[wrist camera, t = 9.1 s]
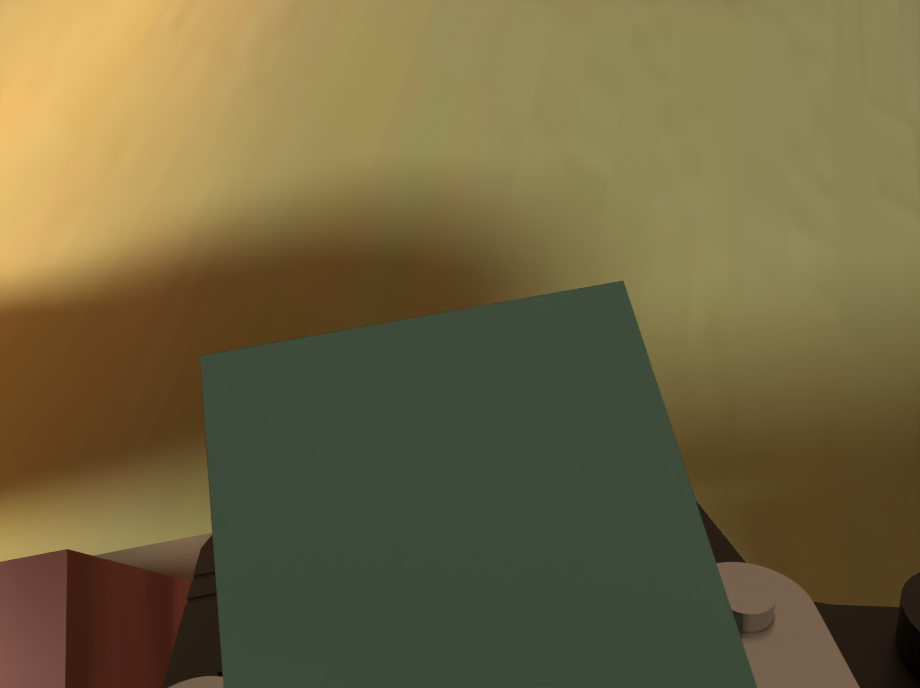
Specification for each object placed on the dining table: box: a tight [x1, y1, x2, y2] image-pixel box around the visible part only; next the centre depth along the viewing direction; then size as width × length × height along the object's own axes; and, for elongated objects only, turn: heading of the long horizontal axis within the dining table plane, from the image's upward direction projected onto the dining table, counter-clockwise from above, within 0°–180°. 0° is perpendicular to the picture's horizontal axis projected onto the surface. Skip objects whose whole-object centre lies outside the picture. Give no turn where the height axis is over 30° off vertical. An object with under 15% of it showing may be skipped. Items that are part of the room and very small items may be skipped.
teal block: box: [200, 281, 757, 688], centre depth 10 cm, size 4×5×10 cm
